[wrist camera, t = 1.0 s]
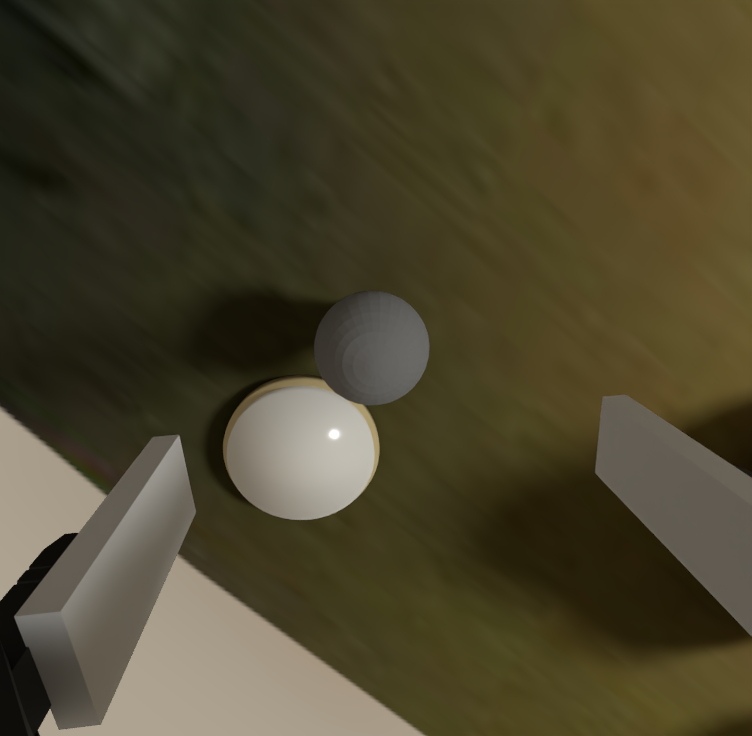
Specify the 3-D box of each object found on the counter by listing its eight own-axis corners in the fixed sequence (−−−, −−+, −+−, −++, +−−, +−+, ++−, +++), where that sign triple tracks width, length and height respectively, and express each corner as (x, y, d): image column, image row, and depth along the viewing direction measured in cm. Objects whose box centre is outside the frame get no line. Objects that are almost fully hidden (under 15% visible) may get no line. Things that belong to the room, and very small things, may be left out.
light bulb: (302, 335, 32) (289, 391, 23) (345, 254, 30) (350, 279, 21) (380, 375, 33) (398, 444, 24) (425, 299, 32) (463, 341, 22)
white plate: (214, 381, 33) (207, 391, 31) (373, 368, 33) (375, 377, 31) (238, 516, 36) (233, 531, 34) (382, 502, 37) (384, 516, 35)
